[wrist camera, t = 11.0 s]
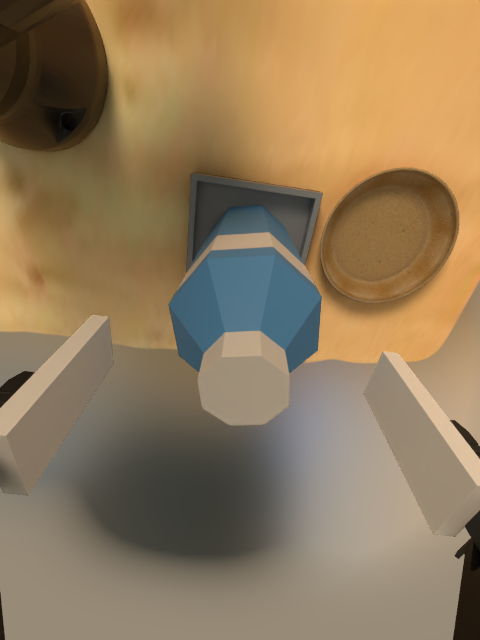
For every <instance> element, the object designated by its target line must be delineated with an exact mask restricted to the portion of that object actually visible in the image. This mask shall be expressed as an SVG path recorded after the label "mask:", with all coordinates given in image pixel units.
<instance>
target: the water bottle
mask: <svg viewBox="0 0 480 640" xmlns="http://www.w3.org/2000/svg"><path fill="white" fill-rule="evenodd" d="M169 309H170V314H171V319H172V323H173V328H174V333H175V338H176V343H177V348H178V353H179V356H180V357H181V358H182V359H184V360H185V361H186V362H187V363H189V364H190V365H191V366H192V367H193V368H194V369H196V370H197V371H198V372H199V376H198V380H197V381H198V387H199V392H200V398H201V404H202V408H203V409H204V410H206V411H208V412H209V413H211V414H212V415H214V416H215V417H217V418H219V419H220V420H222V421H223V422H225V423H227V424H228V425H264V424H266V423H267V422H268V421H270V420H271V419H272V418H274V417H275V416H276V415H278V414H279V413H280V412H282V411H283V410H284V409H286V408H287V407H288V406H289V399H290V375H289V373H290V372H292V371H293V370H294V369H295V368H296V367H298V366H299V365H300V364H301V363H303V362H304V361H305V360H306V359H308V358H309V357H310V356H311V355H313V354H314V353H315V352H316V351H317V350H318V339H319V325H320V311H321V295H320V293H319V291H318V289H317V287H316V286H315V284H314V282H313V280H312V278H311V276H310V274H309V272H308V270H307V269H306V267H305V265H304V263H303V261H302V259H301V257H300V255H299V253H298V252H297V250H296V248H295V246H294V244H293V242H292V240H291V238H290V236H289V235H288V233H287V231H286V229H285V227H284V226H283V225H282V224H281V223H280V222H279V221H278V220H277V219H276V218H275V217H274V216H273V215H271V214H270V213H269V212H268V211H267V210H266V209H265V208H264V207H263V206H262V205H254V206H240V207H229V208H228V210H227V211H226V212H225V213H224V215H223V216H222V217H221V218H220V219H219V221H218V222H217V223H216V224H215V226H214V227H213V228H212V229H211V231H210V232H209V234H208V235H207V237H206V239H205V241H204V243H203V244H202V246H201V248H200V250H199V251H198V253H197V255H196V257H195V259H194V260H193V262H192V264H191V266H190V267H189V269H188V271H187V273H186V275H185V276H184V278H183V280H182V282H181V283H180V285H179V287H178V289H177V291H176V292H175V294H174V296H173V298H172V299H171V301H170V303H169Z"/></svg>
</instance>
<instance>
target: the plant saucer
mask: <svg viewBox="0 0 480 640" xmlns="http://www.w3.org/2000/svg"><path fill="white" fill-rule="evenodd" d="M458 231H459V210H458V206H457V202H456V199H455V197H454V195H453V193H452V191H451V190H450V188H449V187H448V186H447V184H446V183H445V182H444V181H443V180H441V179H440V178H439V177H437V176H435V175H434V174H432V173H430V172H427V171H425V170H421V169H416V168H405V167H404V168H394V169H390V170H386V171H382V172H379V173H377V174H374V175H372V176H370V177H368V178H367V179H365V180H363V181H362V182H360V183H358V184H357V185H356V186H355V187H353V188H352V189H351V190H350V191H349V192H348V193H347V194H346V195H345V196H344V197H343V198H342V199H341V200H340V201H339V202H338V204H337V205H336V206H335V208H334V209H333V211H332V213H331V214H330V216H329V218H328V220H327V222H326V225H325V227H324V231H323V234H322V238H321V248H320V253H321V262H322V267H323V270H324V272H325V275H326V277H327V279H328V280H329V281H330V283H331V284H332V285H333V286H334V288H335V289H337V290H338V291H339V292H340V293H342V294H343V295H345V296H346V297H348V298H351V299H353V300H356V301H360V302H366V303H382V302H389V301H393V300H396V299H399V298H402V297H404V296H407V295H409V294H410V293H413V292H414V291H416V290H417V289H419V288H421V287H422V286H423V285H424V284H426V283H427V282H428V281H429V280H431V279H432V278H433V277H434V276H435V275H436V274H437V273H438V271H439V270H440V269H441V268H442V267H443V265H444V264H445V262H446V261H447V259H448V257H449V256H450V254H451V252H452V250H453V248H454V245H455V242H456V239H457V236H458Z"/></svg>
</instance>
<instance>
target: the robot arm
mask: <svg viewBox="0 0 480 640" xmlns="http://www.w3.org/2000/svg"><path fill="white" fill-rule="evenodd" d="M106 93H107V64H106V57H105V51H104V47H103V43H102V39H101V36H100V33H99V30H98V27H97V24H96V22H95V19H94V17H93V15H92V13H91V11H90V9H89V7H88V5H87V3H86V1H85V0H0V141H2V142H5V143H7V144H9V145H12V146H15V147H19V148H22V149H27V150H35V151H59V150H64V149H67V148H70V147H72V146H74V145H76V144H78V143H80V142H81V141H82V140H84V139H85V138H86V137H87V136H88V135H89V134H90V133H91V131H92V130H93V129H94V127H95V126H96V124H97V122H98V120H99V118H100V116H101V114H102V111H103V108H104V104H105V100H106ZM112 365H113V353H112V342H111V332H110V321H109V316H101V315H93V314H92V315H91V316H90V317H89V318H88V319H87V320H86V321H85V322H84V323H83V324H82V325H81V326H80V327H79V328H78V329H77V330H76V331H75V333H74V334H73V335H72V336H71V337H70V338H69V339H68V340H67V341H66V342H65V343H64V344H63V345H62V346H61V347H60V348H59V349H58V350H57V351H56V352H55V353H54V354H53V355H52V356H51V357H50V358H49V359H48V360H47V361H46V362H45V363H44V364H43V365H42V366H41V367H40V368H39V369H38V370H37V371H36V372H28V371H24V372H22V373H20V374H18V375H16V376H15V377H13V378H11V379H9V380H8V381H7V382H6V383H5V384H4V385H3V386H1V387H0V487H1V490H2V492H3V493H8V494H18V495H29V494H30V492H31V491H32V489H33V488H34V486H35V484H36V483H37V481H38V480H39V478H40V477H41V475H42V474H43V472H44V471H45V469H46V467H47V466H48V464H49V463H50V461H51V460H52V458H53V456H54V455H55V453H56V452H57V450H58V449H59V447H60V446H61V444H62V443H63V441H64V440H65V438H66V436H67V435H68V433H69V432H70V430H71V429H72V427H73V426H74V424H75V423H76V421H77V419H78V418H79V416H80V415H81V413H82V412H83V410H84V409H85V407H86V405H87V404H88V402H89V401H90V399H91V398H92V396H93V395H94V393H95V392H96V390H97V388H98V387H99V385H100V384H101V382H102V380H103V379H104V378H105V376H106V374H107V373H108V371H109V370H110V368H111V366H112ZM364 395H365V397H366V399H367V401H368V403H369V405H370V407H371V409H372V412H373V414H374V416H375V418H376V420H377V422H378V424H379V426H380V428H381V430H382V432H383V434H384V436H385V438H386V440H387V442H388V444H389V446H390V448H391V450H392V452H393V454H394V456H395V458H396V460H397V462H398V464H399V466H400V468H401V470H402V472H403V474H404V476H405V478H406V480H407V482H408V484H409V486H410V488H411V491H412V492H413V495H414V496H415V499H416V501H417V503H418V505H419V507H420V509H421V511H422V513H423V515H424V517H425V519H426V521H427V523H428V525H429V527H430V529H431V531H432V533H433V534H434V535H443V536H453V537H455V536H456V535H457V534H458V533H459V532H460V531H461V530H462V529H463V528H464V527H465V528H466V529H467V531H468V533H469V534H470V536H471V539H469V540H468V541H467V542H466V543H465V544H464V545H463V546H462V547H461V548H460V549H459V550H458V551H457V553H456V555H455V557H457V558H458V559H459V558H460V557H461V556H462V555H463V554H465V558H464V565H463V572H462V579H461V587H460V594H459V601H458V608H457V615H456V622H455V629H454V636H453V640H480V446H478V443H477V442H476V440H475V439H474V438H473V437H472V436H471V434H470V433H469V432H468V431H467V430H466V429H465V428H463V427H462V426H461V425H460V424H459V423H457V422H456V421H455V420H449V419H448V417H447V416H446V415H445V413H444V412H443V411H442V409H441V408H440V407H439V406H438V404H437V403H436V402H435V401H434V399H433V398H432V396H431V395H430V394H429V393H428V391H427V390H426V389H425V387H424V386H423V385H422V383H421V382H420V381H419V380H418V378H417V377H416V376H415V375H414V373H413V372H412V371H411V369H410V368H409V367H408V365H407V364H406V363H405V361H404V360H403V359H402V358H401V356H400V355H399V354H398V353H392V352H384V351H383V352H382V354H381V357H380V359H379V361H378V363H377V365H376V368H375V370H374V372H373V374H372V376H371V378H370V381H369V383H368V385H367V387H366V390H365V392H364ZM0 640H5V635H4V625H3V616H2V605H1V594H0Z"/></svg>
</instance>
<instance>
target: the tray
mask: <svg viewBox="0 0 480 640" xmlns="http://www.w3.org/2000/svg"><path fill="white" fill-rule="evenodd" d="M322 195H323V193H321V192H319V191H313V190H306V189H300V188H293V187H287V186H280V185H274V184H267V183H261V182H254V181H248V180H241V179H235V178H228V177H221V176H215V175H208V174H202V173H195V172H194V173H191V188H190V208H189V228H188V247H187V267H186V273H187V271H188V269H189V267H190V266H191V264H192V262H193V260H194V259H195V257H196V255H197V253H198V251H199V250H200V248H201V246H202V244H203V243H204V241H205V239H206V237H207V235H208V234H209V232H210V231H211V229H212V228H213V227H214V226H215V224H216V223H217V222H218V221H219V219H220V218H221V217H222V216H223V215H224V213H225V212H226V211H227V210H228V208H229V207H240V206H254V205H262V206H263V207H264V208H265V209H266V210H267V211H268V212H269V213H270V214H271V215H273V216H274V217H275V218H276V219H277V220H278V221H279V222H280V223H281V224H282V225H283V226H284V227H285V229H286V231H287V233H288V235H289V236H290V238H291V240H292V242H293V244H294V246H295V248H296V250H297V252H298V253H299V255H300V257H301V259H302V261H303V263H304V265H305V262H306V259H307V255H308V251H309V247H310V243H311V239H312V235H313V231H314V227H315V223H316V219H317V215H318V211H319V207H320V203H321V199H322Z"/></svg>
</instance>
